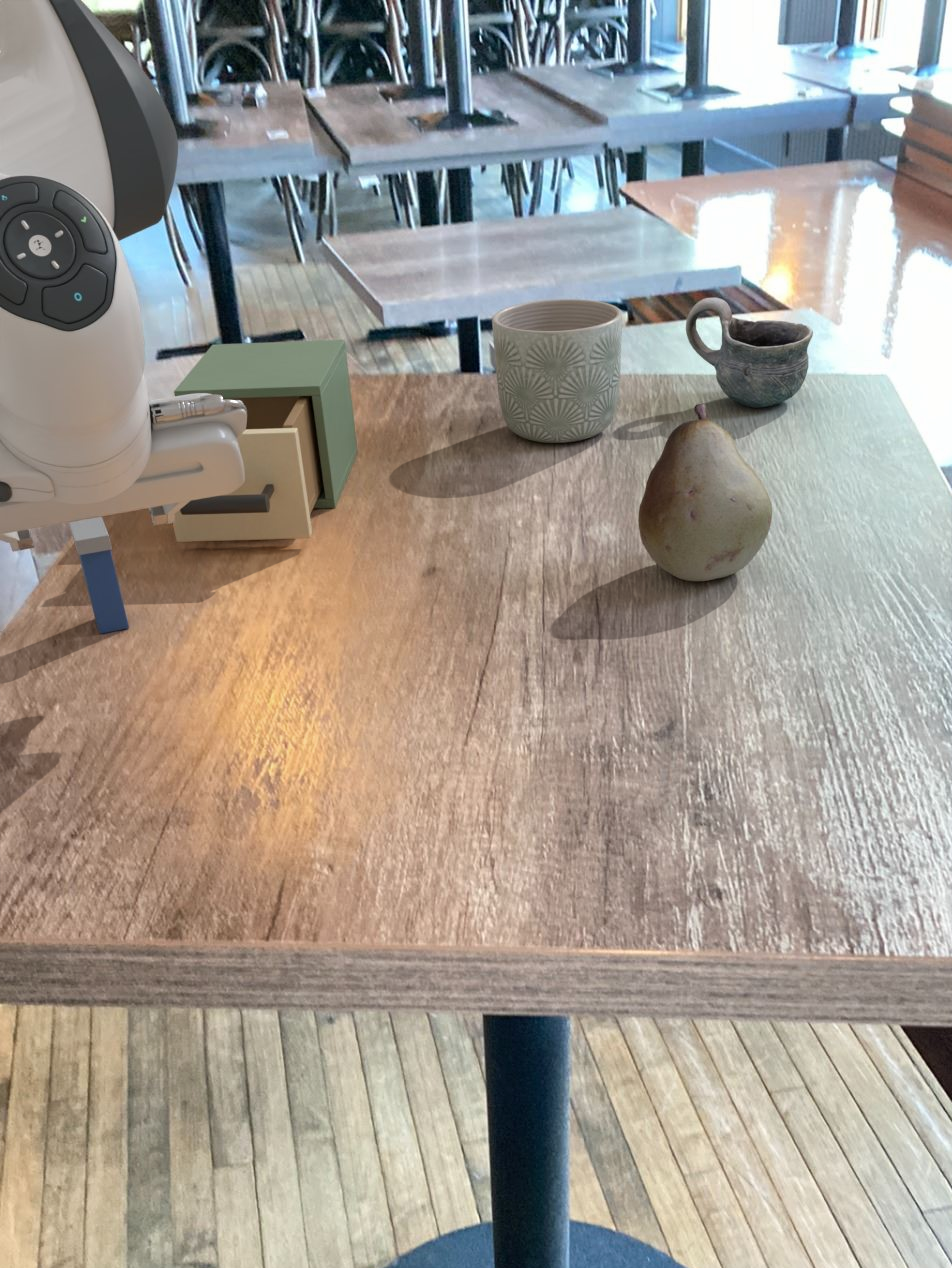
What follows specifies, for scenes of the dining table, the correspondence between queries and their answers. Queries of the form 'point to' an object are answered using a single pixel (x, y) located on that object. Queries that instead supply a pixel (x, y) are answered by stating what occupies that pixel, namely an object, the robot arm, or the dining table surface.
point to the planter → (558, 367)
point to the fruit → (703, 505)
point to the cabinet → (290, 393)
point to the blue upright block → (99, 574)
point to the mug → (754, 355)
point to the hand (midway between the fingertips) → (92, 527)
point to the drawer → (264, 478)
